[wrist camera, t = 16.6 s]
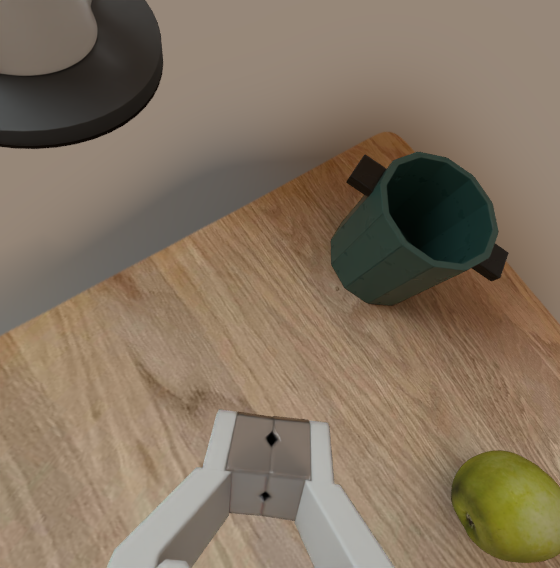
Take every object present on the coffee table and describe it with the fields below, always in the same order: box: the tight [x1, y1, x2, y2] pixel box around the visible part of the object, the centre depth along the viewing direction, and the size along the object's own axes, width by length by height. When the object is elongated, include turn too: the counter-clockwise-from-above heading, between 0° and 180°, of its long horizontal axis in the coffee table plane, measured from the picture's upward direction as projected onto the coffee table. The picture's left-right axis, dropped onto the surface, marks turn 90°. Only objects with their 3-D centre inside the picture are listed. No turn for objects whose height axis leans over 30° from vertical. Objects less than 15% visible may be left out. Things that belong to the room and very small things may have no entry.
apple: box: [451, 451, 560, 563], centre depth 29 cm, size 8×9×8 cm
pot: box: [331, 152, 508, 306], centre depth 33 cm, size 16×11×11 cm
